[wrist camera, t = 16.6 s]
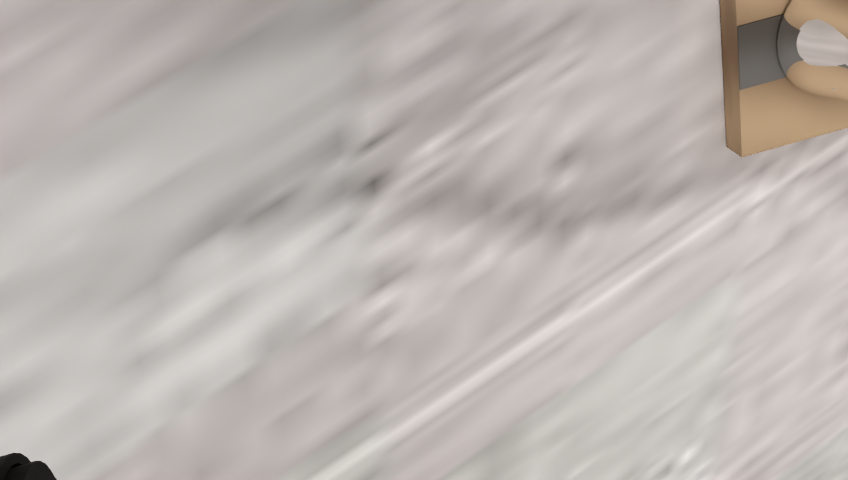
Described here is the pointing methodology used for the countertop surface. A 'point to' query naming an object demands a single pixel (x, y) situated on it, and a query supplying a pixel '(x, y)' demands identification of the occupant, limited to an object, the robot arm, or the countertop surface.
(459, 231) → the countertop surface
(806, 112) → the oak board
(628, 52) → the countertop surface
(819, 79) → the beer glass
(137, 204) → the countertop surface
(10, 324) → the countertop surface
